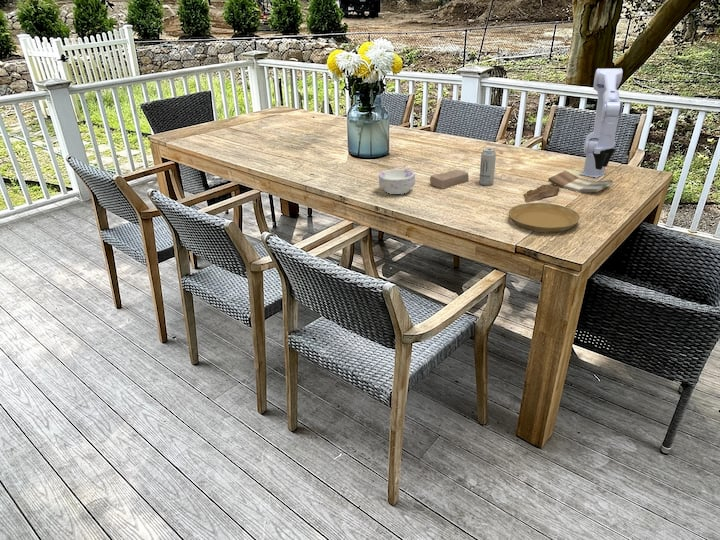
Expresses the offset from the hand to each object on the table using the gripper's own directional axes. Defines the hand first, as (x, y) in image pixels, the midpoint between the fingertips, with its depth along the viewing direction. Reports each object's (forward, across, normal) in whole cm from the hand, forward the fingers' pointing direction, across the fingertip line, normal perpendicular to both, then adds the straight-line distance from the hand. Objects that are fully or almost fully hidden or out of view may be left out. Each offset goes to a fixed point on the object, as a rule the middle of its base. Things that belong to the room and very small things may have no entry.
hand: (601, 167), depth 206 cm
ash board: (+9, 0, -8) cm, 12 cm away
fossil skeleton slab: (+10, +18, -15) cm, 25 cm away
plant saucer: (+10, +44, 0) cm, 45 cm away
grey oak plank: (+8, 0, 0) cm, 8 cm away
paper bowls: (+10, +54, -62) cm, 82 cm away
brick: (+10, +30, -52) cm, 61 cm away
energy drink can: (+10, +22, -39) cm, 45 cm away
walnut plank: (+8, 0, -15) cm, 17 cm away
